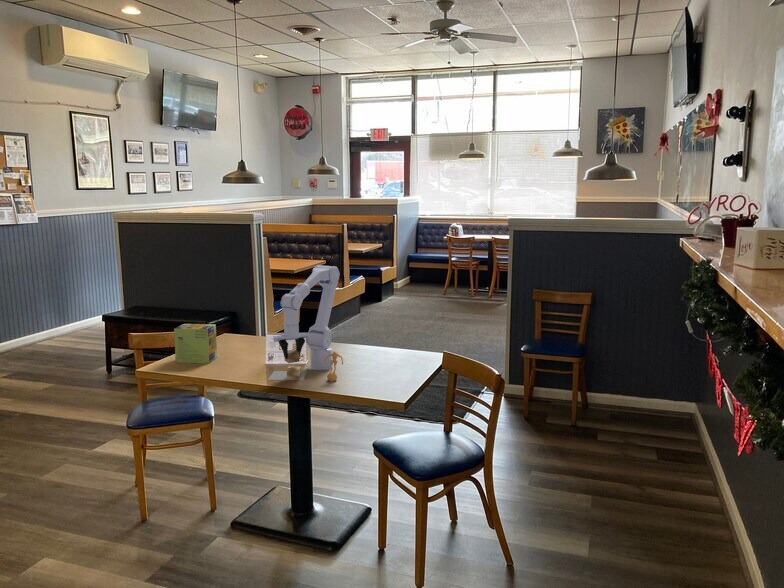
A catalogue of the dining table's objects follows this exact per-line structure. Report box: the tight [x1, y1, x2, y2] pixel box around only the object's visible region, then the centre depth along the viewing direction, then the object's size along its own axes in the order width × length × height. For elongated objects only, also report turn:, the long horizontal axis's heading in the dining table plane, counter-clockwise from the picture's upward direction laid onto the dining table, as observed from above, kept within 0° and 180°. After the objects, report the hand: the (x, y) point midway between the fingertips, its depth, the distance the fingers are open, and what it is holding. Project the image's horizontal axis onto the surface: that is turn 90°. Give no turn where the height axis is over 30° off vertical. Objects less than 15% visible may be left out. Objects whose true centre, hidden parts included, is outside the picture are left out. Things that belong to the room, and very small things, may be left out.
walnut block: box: [284, 349, 300, 364], centre depth 245 cm, size 4×4×4 cm
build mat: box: [267, 370, 308, 381], centre depth 249 cm, size 14×12×1 cm
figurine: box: [324, 351, 344, 382], centre depth 243 cm, size 8×6×12 cm
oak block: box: [286, 365, 302, 381], centre depth 246 cm, size 5×5×4 cm
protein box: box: [173, 323, 218, 365], centre depth 272 cm, size 10×15×16 cm
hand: (292, 357), depth 245 cm, fingers closed on walnut block, 4 cm apart
